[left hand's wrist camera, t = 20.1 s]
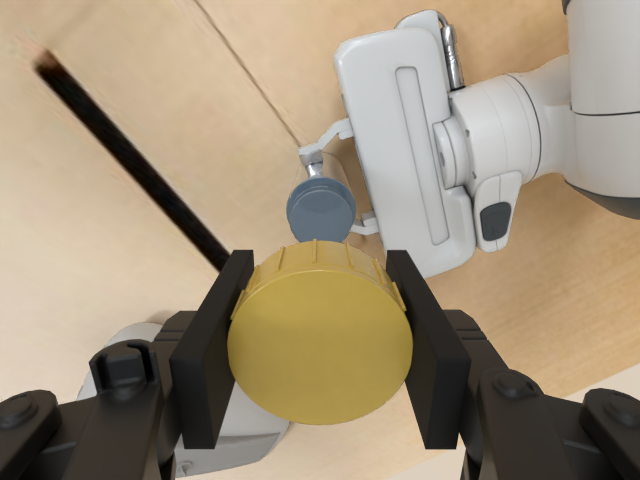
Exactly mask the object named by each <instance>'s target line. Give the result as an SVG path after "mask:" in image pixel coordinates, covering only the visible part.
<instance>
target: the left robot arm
mask: <svg viewBox="0 0 640 480" xmlns="http://www.w3.org/2000/svg"><path fill="white" fill-rule="evenodd" d="M253 272H254V256H253V250H233V252H232V254H231V255H230V257H229V259H228V260H227V262H226V264H225V265H224V267H223V269H222V270H221V272H220V274H219V276H218V277H217V279H216V281H215V282H214V284H213V286H212V287H211V289H210V291H209V292H208V294H207V296H206V297H205V299H204V301H203V302H202V304H201V306H200V307H199V309H198V311H179V312H178V313H176V314H175V315H174V316H172V317H171V318H169V319H168V320H167V321H166V322H165V324H164V325H163V327H162V328H161V329H160V332H158V334H157V335H156V336H155V338H154V341H152V342H150V341H147V340H143V339H129V340H125V341H120V342H116V343H114V344H112V345H110V346H107V347H105V348H104V349H102V350H101V351H99V352H98V353H96V354H95V355H94V356H93V358H92V359H91V360H90V361H89V365H90V369H91V373H92V377H93V380H94V384H95V388H96V391H97V394H96V396H94V397H90V398H87V399H83V400H78V401H74V402H69V403H65V404H60V405H58V402H57V399H56V396H55V395H54V394H53V393H52V392H50V391H46V390H34V391H27V392H24V393H21V394H18V395H15V396H12V397H10V398H8V399H7V400H5V401H3V402H1V403H0V480H175V475H176V466H177V464H176V456H175V451H174V449H175V447H176V445H177V442H178V440H179V438H180V435H181V434H182V439H183V445H184V449H215V446H216V443H217V440H218V437H219V433H220V430H221V427H222V424H223V420H224V417H225V414H226V411H227V407H228V404H229V401H230V398H231V394H232V391H233V388H234V384H235V381H236V380H235V378H234V376H233V374H232V371H231V369H230V366H229V358H228V348H227V338H228V332H229V328H230V325H231V322H232V320H230V318H231V315H232V313H233V311H234V308H235V306H236V303H237V301H238V299H239V296H240V294H241V292H242V290H245V288H246V286H247V284H248V282H249V279H250V278H251V276H252V274H253ZM386 273H387V274H388V276H389V277H390V279H391V281H392V282H395V283H396V286H397V288H398V291H399V293H400V295H401V298H402V300H403V302H404V305H405V307H406V309H407V310H406V311H404V312H405V315H406V317H407V319H408V322H409V325H410V328H411V332H412V336H413V351H412V360H411V366H410V369H409V372H408V375H407V377H406V378H405V384H406V387H407V390H408V394H409V397H410V400H411V403H412V407H413V410H414V413H415V416H416V420H417V423H418V426H419V429H420V433H421V436H422V439H423V442H424V446H425V449H456V446H457V441H458V435H459V433H460V435H461V438H462V440H463V442H464V445H465V447H466V451H465V456H464V462H463V467H462V472H461V477H460V480H640V401H639V400H637V399H635V398H633V397H632V396H630V395H627V394H625V393H621V392H618V391H615V390H610V389H603V388H598V389H591V390H590V391H589V392H587V393H586V394H585V397H584V400H583V403H578V402H573V401H569V400H565V399H560V398H556V397H552V396H548V395H545V394H544V393H543V392H542V390H541V389H540V387H539V386H538V384H537V383H535V382H534V381H533V380H532V379H530V378H529V377H528V376H526V375H524V374H522V373H520V372H518V371H515V370H511V369H509V368H508V367H507V365H506V364H505V362H504V361H503V360H502V358H501V357H500V355H499V354H498V353H497V351H496V350H495V349H494V347H493V346H492V344H491V343H490V342H489V340H487V337H486V336H485V335H484V333H483V332H482V331H481V329H480V328H479V326H478V325H477V323H476V322H475V321H474V319H473V318H471V317H470V316H469V315H467V314H466V313H464V312H463V311H461V310H442V309H441V307H440V305H439V304H438V302H437V300H436V299H435V297H434V295H433V294H432V292H431V290H430V289H429V287H428V285H427V283H426V282H425V280H424V278H423V277H422V275H421V273H420V272H419V270H418V268H417V267H416V265H415V263H414V262H413V260H412V258H411V257H410V255H409V253H408V252H407V250H387V260H386Z"/></svg>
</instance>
